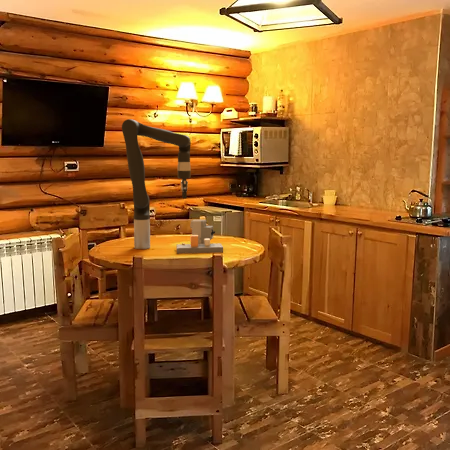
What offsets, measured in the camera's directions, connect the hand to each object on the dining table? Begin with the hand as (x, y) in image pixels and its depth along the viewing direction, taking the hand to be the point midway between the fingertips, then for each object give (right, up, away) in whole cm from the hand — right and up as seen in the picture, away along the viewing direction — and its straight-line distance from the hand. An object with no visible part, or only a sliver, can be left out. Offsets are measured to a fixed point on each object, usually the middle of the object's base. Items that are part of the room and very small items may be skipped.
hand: (184, 197), depth 297 cm
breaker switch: (+13, -27, -2) cm, 31 cm away
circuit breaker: (+10, -28, +18) cm, 35 cm away
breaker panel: (+9, -31, -3) cm, 32 cm away
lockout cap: (+6, -28, -3) cm, 29 cm away
